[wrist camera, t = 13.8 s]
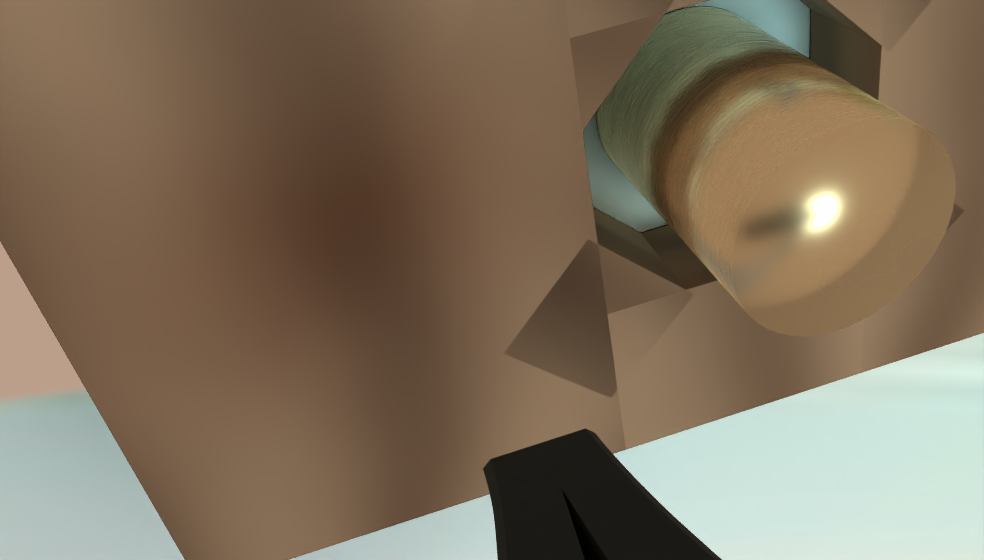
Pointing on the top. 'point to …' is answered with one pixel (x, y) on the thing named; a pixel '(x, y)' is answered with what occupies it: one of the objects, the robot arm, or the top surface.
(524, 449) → the robot arm
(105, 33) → the jig plate
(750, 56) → the cylinder
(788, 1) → the top surface
